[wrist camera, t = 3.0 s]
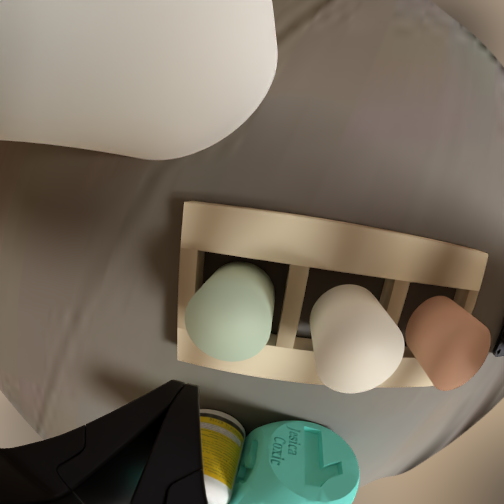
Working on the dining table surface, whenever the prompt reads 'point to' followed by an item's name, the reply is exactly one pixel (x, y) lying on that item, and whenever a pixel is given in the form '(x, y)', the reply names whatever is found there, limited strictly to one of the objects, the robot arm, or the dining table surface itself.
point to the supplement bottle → (220, 453)
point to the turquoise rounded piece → (295, 466)
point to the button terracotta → (447, 342)
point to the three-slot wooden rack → (300, 260)
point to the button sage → (232, 312)
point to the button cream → (354, 340)
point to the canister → (133, 72)
